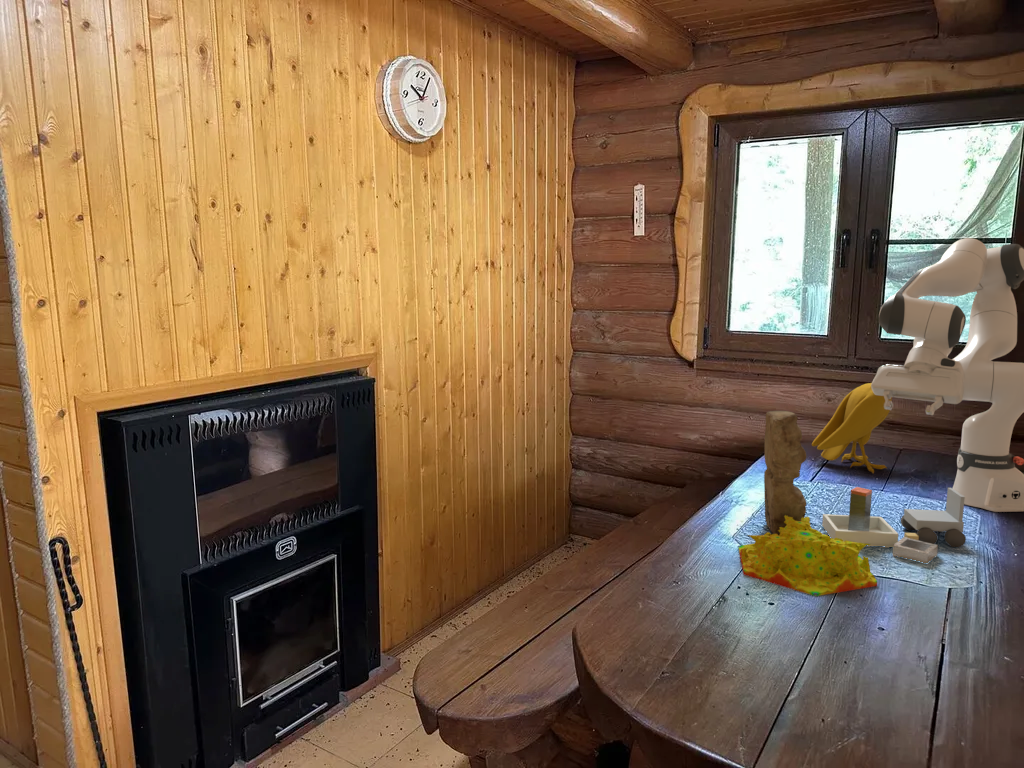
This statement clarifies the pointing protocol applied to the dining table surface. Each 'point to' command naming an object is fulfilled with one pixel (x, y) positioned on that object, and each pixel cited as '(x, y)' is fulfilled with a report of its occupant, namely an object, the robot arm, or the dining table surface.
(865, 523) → the pin
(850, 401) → the sculpture
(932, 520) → the trolley
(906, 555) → the bracket
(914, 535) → the block
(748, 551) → the decorative piece
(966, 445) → the robot arm
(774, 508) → the sculpture
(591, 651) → the dining table surface
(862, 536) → the tray
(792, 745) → the dining table surface
